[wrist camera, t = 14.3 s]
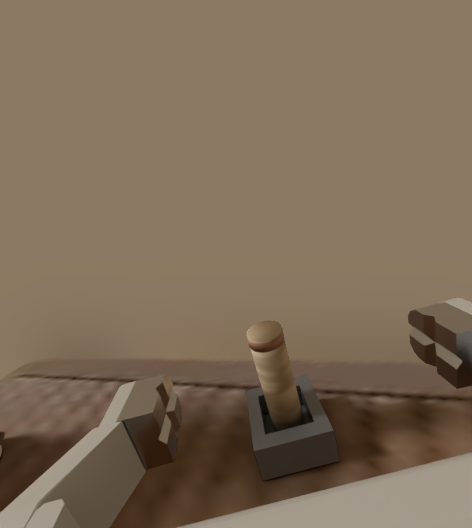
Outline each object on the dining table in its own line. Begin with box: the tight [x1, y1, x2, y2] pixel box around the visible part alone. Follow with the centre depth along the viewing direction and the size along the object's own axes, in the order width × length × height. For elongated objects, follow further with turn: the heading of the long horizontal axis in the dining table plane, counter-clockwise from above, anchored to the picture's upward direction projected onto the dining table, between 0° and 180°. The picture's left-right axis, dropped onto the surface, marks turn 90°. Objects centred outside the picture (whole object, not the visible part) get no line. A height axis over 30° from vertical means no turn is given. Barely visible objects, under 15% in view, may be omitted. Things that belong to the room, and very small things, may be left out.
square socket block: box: [246, 375, 340, 481], centre depth 29 cm, size 8×8×4 cm
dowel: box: [247, 321, 305, 432], centre depth 27 cm, size 4×4×13 cm
